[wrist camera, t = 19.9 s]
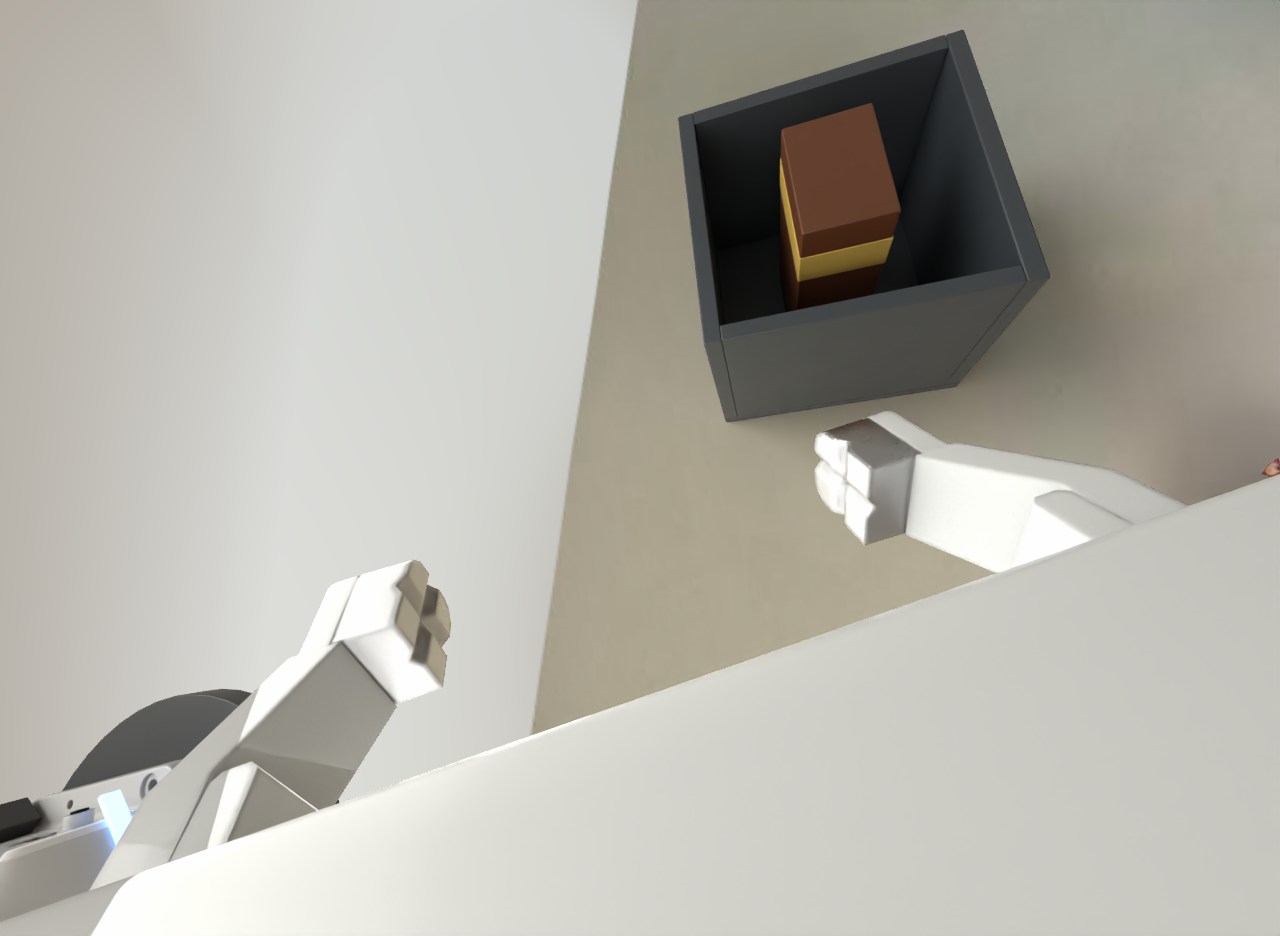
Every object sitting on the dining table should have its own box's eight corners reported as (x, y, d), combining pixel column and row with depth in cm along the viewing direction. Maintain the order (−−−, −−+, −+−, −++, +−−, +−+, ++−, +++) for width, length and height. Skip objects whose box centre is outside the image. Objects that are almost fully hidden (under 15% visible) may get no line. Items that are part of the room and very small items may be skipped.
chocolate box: (792, 353, 31) (801, 235, 21) (778, 274, 33) (780, 128, 22) (859, 341, 30) (903, 210, 20) (841, 260, 32) (873, 100, 22)
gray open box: (725, 422, 32) (703, 344, 22) (705, 250, 35) (677, 117, 26) (955, 386, 29) (1051, 276, 19) (906, 202, 32) (964, 28, 22)
